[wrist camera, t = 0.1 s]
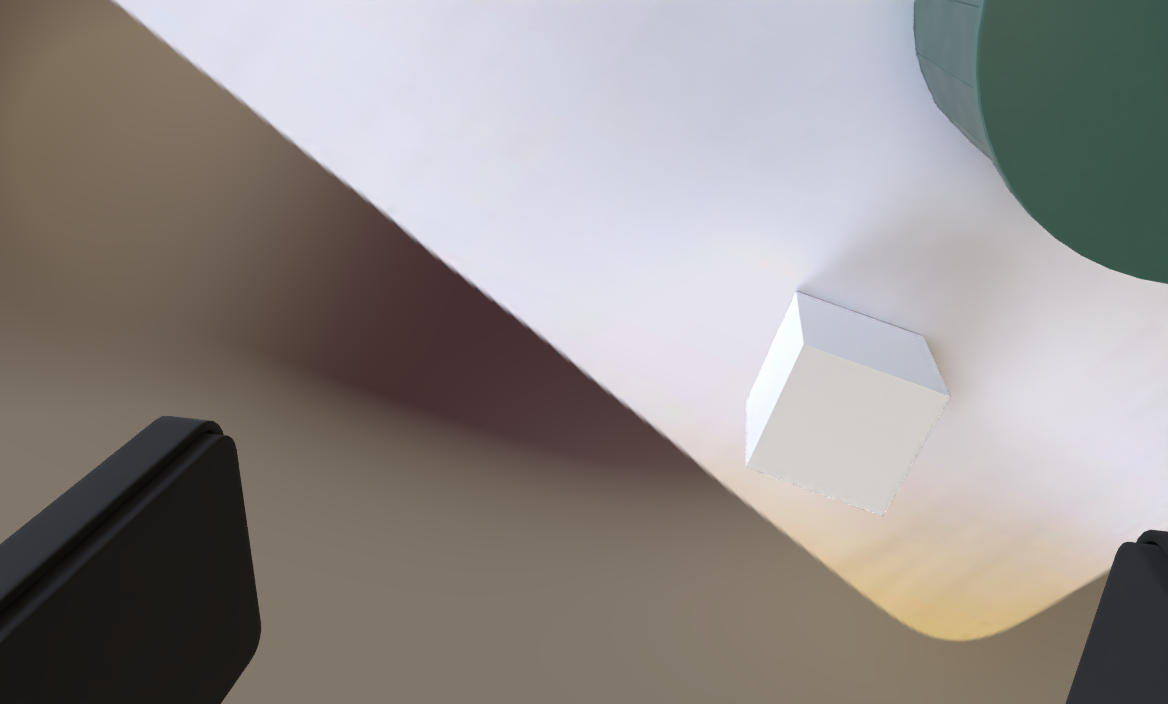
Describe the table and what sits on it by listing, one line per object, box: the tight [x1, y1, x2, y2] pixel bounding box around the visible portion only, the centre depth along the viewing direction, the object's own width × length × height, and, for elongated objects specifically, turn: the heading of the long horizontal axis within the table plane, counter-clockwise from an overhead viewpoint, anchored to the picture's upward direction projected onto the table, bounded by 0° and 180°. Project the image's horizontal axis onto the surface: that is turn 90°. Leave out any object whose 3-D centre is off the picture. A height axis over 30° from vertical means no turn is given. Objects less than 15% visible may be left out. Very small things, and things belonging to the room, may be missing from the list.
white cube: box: [746, 291, 951, 516], centre depth 39 cm, size 6×6×6 cm
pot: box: [914, 0, 992, 160], centre depth 28 cm, size 13×13×12 cm
